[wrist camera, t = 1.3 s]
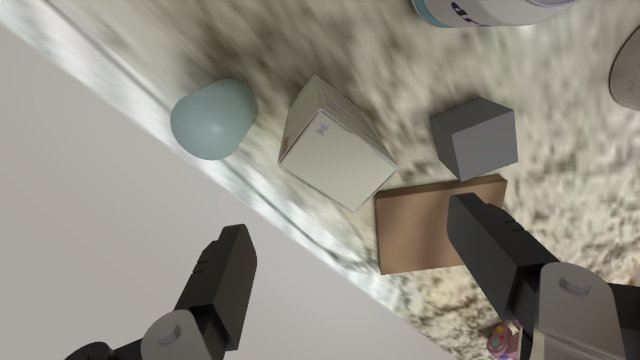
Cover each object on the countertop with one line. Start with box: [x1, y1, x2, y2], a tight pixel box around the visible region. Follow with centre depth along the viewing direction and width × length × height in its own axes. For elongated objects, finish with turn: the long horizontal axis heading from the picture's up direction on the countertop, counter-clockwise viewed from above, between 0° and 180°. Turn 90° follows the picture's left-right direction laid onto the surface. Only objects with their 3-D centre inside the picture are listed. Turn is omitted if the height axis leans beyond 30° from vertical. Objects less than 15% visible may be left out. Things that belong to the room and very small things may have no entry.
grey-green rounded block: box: [170, 78, 258, 160], centre depth 23 cm, size 5×5×7 cm
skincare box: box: [278, 74, 399, 213], centre depth 21 cm, size 6×4×12 cm
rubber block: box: [429, 97, 518, 182], centre depth 25 cm, size 5×5×5 cm
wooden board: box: [374, 175, 508, 275], centre depth 33 cm, size 14×12×2 cm
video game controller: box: [487, 319, 521, 360], centre depth 41 cm, size 10×5×7 cm, turn 139°
